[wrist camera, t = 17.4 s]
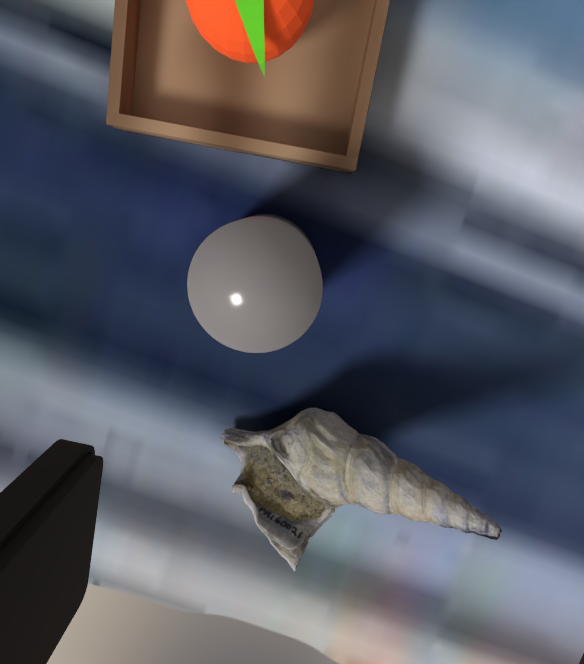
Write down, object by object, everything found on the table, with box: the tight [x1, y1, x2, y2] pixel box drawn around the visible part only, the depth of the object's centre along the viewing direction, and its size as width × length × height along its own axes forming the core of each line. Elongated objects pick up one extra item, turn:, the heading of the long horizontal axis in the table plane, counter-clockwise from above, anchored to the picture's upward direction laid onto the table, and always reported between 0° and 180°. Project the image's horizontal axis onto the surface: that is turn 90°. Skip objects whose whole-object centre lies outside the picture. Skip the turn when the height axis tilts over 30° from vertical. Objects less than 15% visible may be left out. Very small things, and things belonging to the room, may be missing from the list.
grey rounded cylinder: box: [187, 214, 323, 353], centre depth 30 cm, size 7×7×9 cm
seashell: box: [221, 408, 502, 571], centre depth 33 cm, size 10×17×10 cm, turn 72°
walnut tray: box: [106, 0, 390, 173], centre depth 29 cm, size 15×15×3 cm
